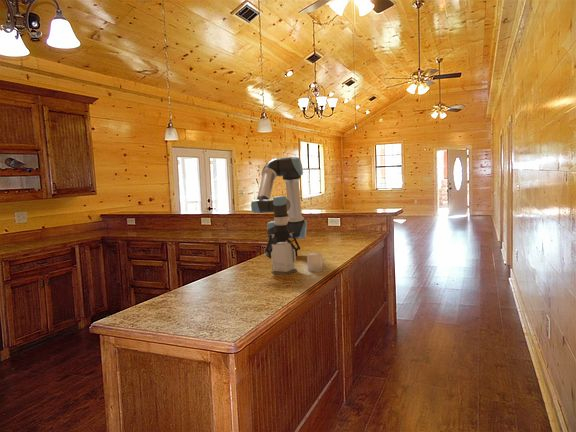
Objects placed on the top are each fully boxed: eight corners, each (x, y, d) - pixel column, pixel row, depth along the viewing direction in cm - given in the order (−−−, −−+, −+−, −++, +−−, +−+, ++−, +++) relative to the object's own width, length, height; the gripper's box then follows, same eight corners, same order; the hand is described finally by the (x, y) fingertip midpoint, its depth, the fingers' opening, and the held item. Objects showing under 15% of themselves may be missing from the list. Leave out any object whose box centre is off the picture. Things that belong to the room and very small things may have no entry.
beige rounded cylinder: (307, 269, 237) (306, 253, 237) (321, 268, 238) (320, 252, 237) (308, 272, 229) (307, 256, 229) (323, 271, 230) (322, 255, 229)
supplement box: (295, 268, 237) (293, 242, 236) (287, 272, 230) (285, 244, 228) (281, 267, 242) (279, 241, 241) (272, 271, 234) (271, 244, 233)
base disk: (271, 269, 242) (271, 268, 242) (295, 267, 243) (295, 266, 243) (271, 275, 228) (271, 273, 228) (297, 273, 229) (297, 271, 229)
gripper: (259, 226, 229) (261, 266, 231) (303, 223, 230) (306, 263, 232) (259, 225, 236) (261, 263, 238) (302, 222, 238) (304, 260, 240)
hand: (283, 263), depth 235 cm, fingers closed on supplement box, 12 cm apart
